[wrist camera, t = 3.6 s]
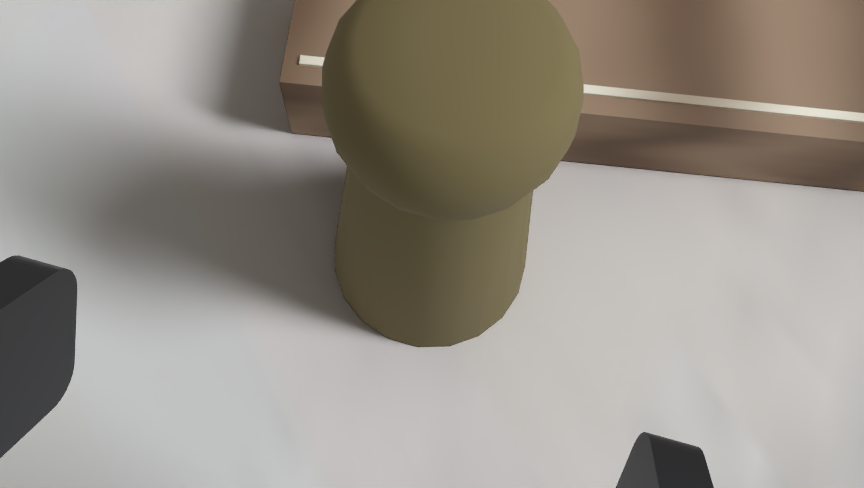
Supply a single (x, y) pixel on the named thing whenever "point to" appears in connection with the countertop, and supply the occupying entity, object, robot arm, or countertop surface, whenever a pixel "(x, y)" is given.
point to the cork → (444, 155)
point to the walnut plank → (680, 85)
